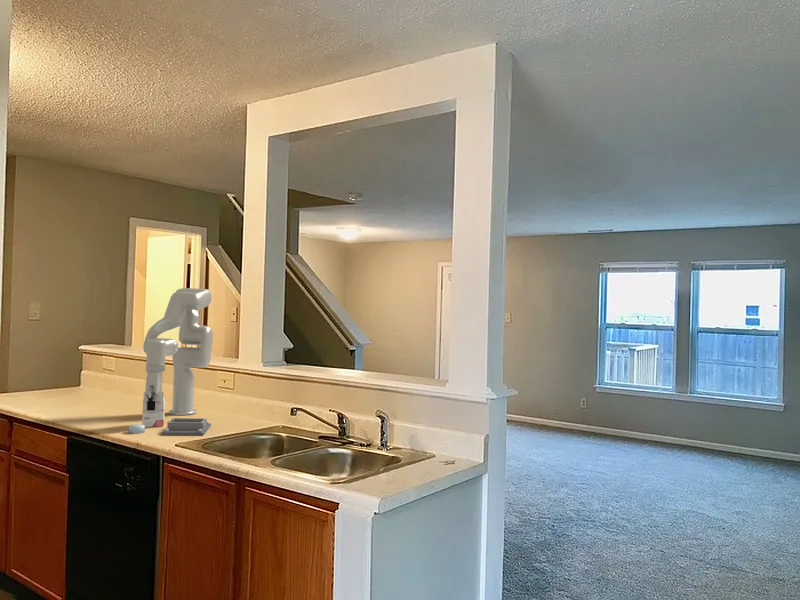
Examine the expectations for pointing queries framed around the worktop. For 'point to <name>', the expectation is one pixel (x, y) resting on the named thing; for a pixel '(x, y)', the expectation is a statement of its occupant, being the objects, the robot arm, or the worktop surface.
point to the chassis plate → (187, 426)
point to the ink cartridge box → (154, 412)
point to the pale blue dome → (137, 428)
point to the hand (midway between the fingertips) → (153, 408)
